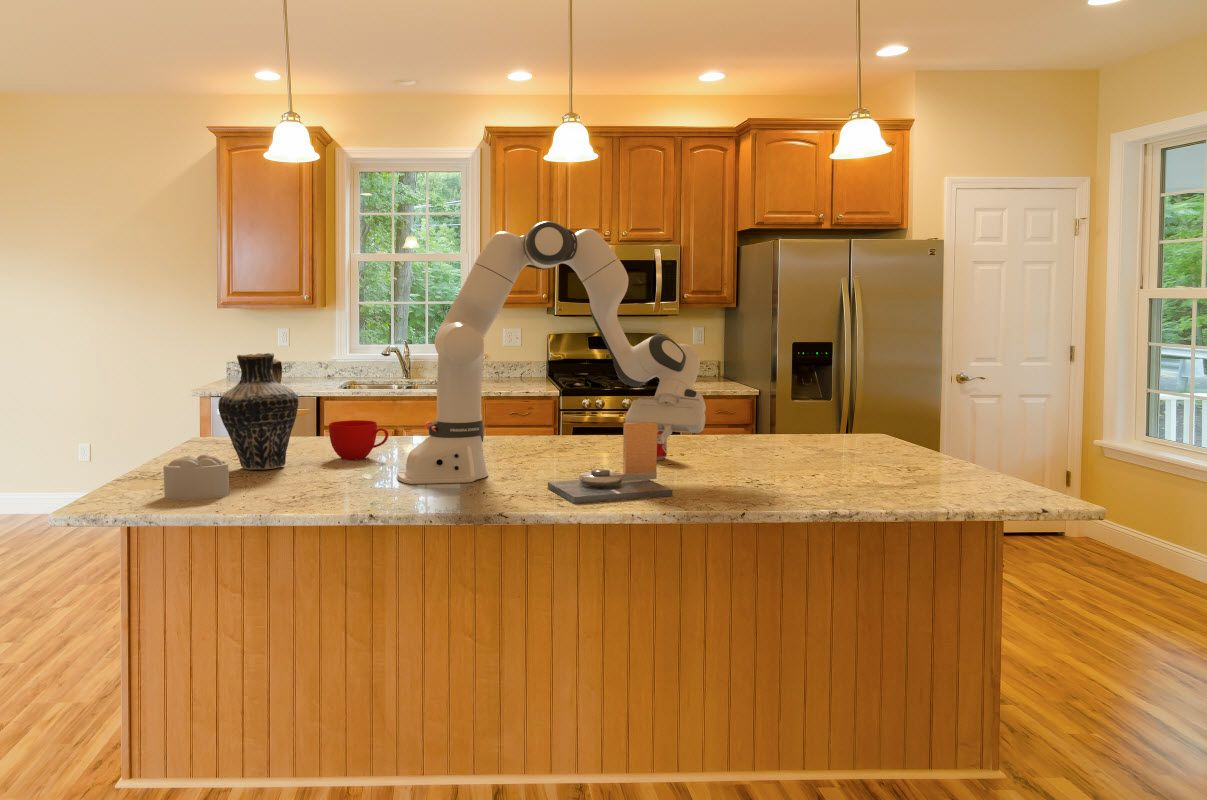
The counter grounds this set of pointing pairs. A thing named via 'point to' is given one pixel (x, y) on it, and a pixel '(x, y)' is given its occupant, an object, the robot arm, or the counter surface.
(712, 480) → the counter surface
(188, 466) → the lumpy-topped squat cylinder
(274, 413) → the jug
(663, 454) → the soda can
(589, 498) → the base plate
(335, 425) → the ceramic cup
